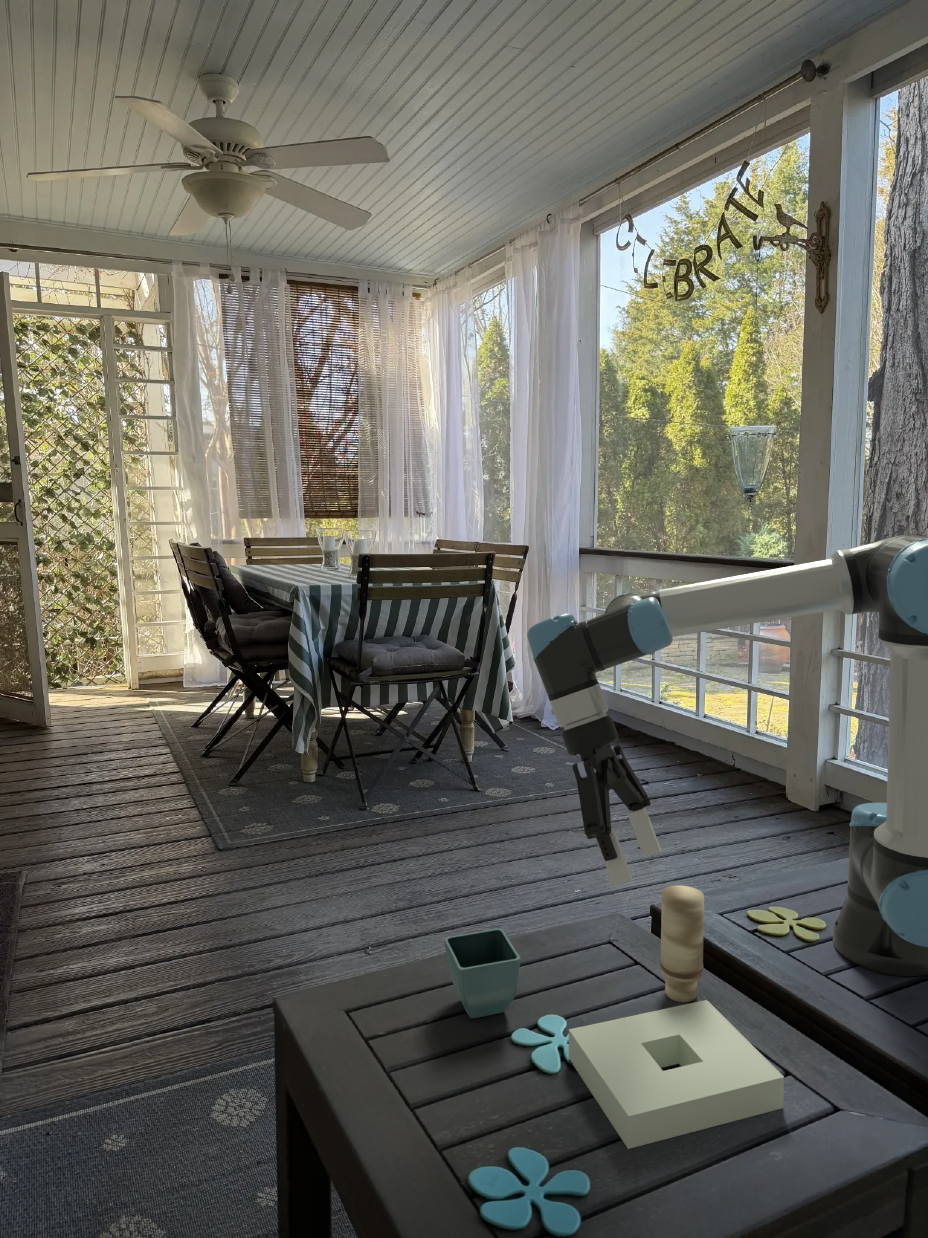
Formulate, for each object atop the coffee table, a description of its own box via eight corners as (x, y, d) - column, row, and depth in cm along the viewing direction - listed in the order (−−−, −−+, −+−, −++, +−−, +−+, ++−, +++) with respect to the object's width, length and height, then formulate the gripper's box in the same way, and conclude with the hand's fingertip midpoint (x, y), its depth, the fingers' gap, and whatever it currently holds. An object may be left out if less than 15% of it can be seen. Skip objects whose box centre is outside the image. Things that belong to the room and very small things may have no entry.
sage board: (706, 1027, 115) (706, 1000, 114) (782, 1108, 100) (784, 1077, 99) (568, 1058, 109) (568, 1029, 108) (628, 1149, 94) (628, 1116, 93)
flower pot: (460, 1031, 115) (459, 969, 114) (444, 995, 123) (443, 936, 122) (522, 1019, 117) (521, 959, 116) (502, 984, 126) (501, 927, 124)
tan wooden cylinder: (688, 978, 126) (690, 882, 124) (711, 1001, 121) (713, 901, 118) (651, 985, 125) (653, 888, 122) (673, 1009, 119) (675, 908, 117)
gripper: (592, 718, 134) (640, 849, 131) (525, 743, 112) (582, 902, 109) (635, 703, 131) (686, 837, 128) (575, 726, 109) (635, 889, 106)
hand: (638, 867), depth 118 cm, fingers open, 13 cm apart
